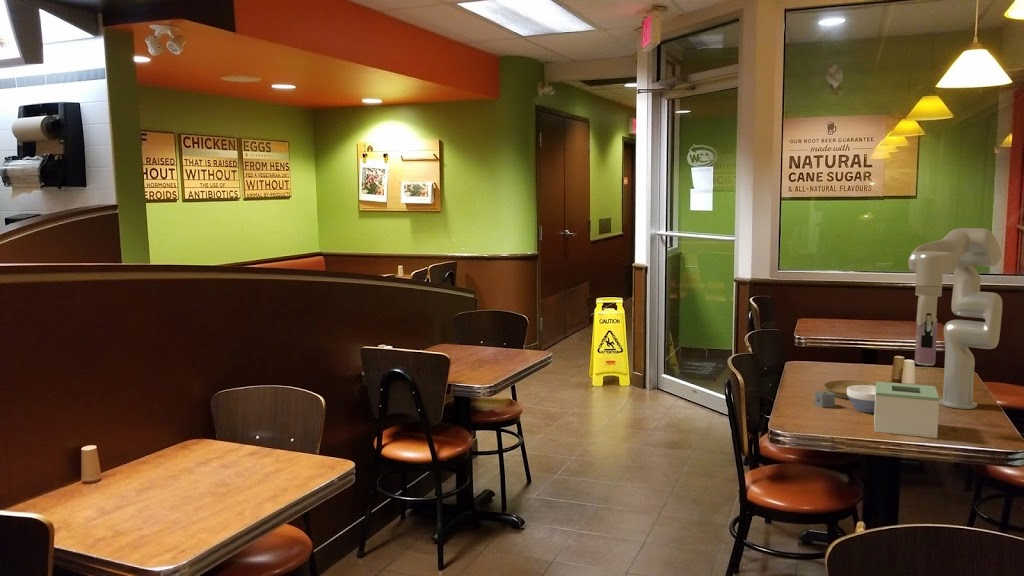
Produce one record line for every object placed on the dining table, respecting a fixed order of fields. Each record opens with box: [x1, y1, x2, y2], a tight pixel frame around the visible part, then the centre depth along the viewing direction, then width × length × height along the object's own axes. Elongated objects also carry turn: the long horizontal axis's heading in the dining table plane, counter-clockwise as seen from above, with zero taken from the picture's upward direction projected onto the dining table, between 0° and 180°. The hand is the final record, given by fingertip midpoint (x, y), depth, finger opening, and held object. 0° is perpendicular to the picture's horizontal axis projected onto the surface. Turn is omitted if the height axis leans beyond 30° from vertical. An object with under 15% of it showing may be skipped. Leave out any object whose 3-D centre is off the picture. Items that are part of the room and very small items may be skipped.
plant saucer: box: [823, 379, 876, 400], centre depth 304 cm, size 24×24×3 cm
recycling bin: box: [873, 380, 940, 439], centre depth 257 cm, size 18×18×13 cm
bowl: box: [847, 385, 876, 414], centre depth 280 cm, size 14×14×8 cm
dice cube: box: [814, 390, 836, 409], centre depth 287 cm, size 5×5×5 cm
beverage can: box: [914, 318, 938, 366], centre depth 254 cm, size 6×6×15 cm
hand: (925, 345), depth 254 cm, fingers closed on beverage can, 6 cm apart
